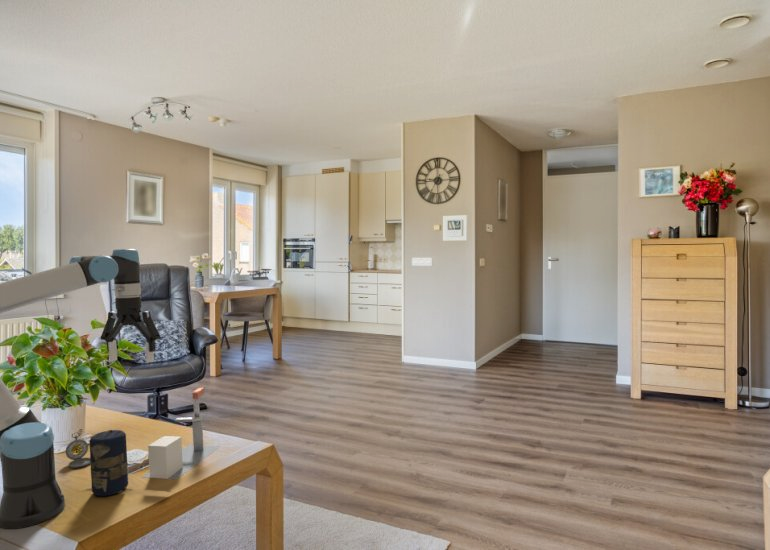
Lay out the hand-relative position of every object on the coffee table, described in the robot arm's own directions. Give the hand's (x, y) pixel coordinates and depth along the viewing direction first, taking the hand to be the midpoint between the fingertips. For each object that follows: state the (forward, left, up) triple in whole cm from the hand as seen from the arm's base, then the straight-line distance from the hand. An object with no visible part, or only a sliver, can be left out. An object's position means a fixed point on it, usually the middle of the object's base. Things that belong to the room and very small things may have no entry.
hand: (131, 361), depth 165 cm
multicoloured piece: (+13, -12, -23) cm, 29 cm away
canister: (-17, -4, -35) cm, 39 cm away
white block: (-6, -15, -34) cm, 37 cm away
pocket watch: (-1, +21, -35) cm, 41 cm away
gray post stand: (+3, -15, -35) cm, 38 cm away
